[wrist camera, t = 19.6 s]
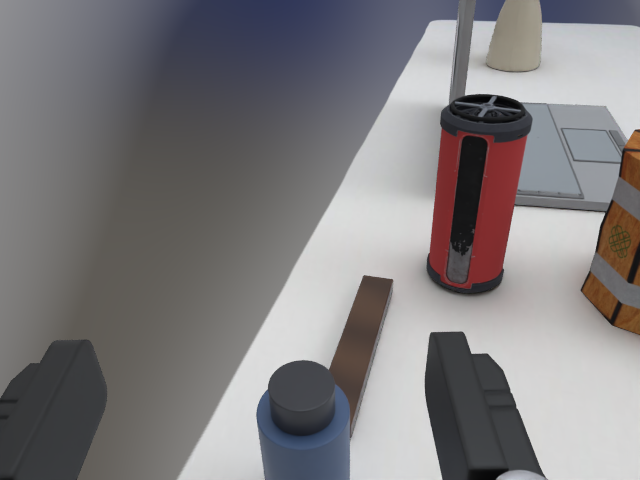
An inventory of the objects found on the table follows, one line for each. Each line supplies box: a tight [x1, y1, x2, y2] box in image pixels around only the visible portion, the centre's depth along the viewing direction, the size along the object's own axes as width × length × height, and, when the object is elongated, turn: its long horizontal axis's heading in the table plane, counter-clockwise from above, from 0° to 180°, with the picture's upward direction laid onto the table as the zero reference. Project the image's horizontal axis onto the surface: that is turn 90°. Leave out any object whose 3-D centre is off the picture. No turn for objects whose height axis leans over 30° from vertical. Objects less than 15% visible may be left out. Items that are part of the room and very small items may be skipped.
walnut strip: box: [329, 275, 393, 438], centre depth 48 cm, size 18×3×2 cm, turn 164°
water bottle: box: [256, 360, 350, 480], centre depth 33 cm, size 5×5×12 cm
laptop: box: [449, 0, 628, 211], centre depth 74 cm, size 35×26×27 cm
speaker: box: [427, 94, 533, 293], centre depth 52 cm, size 8×8×18 cm
